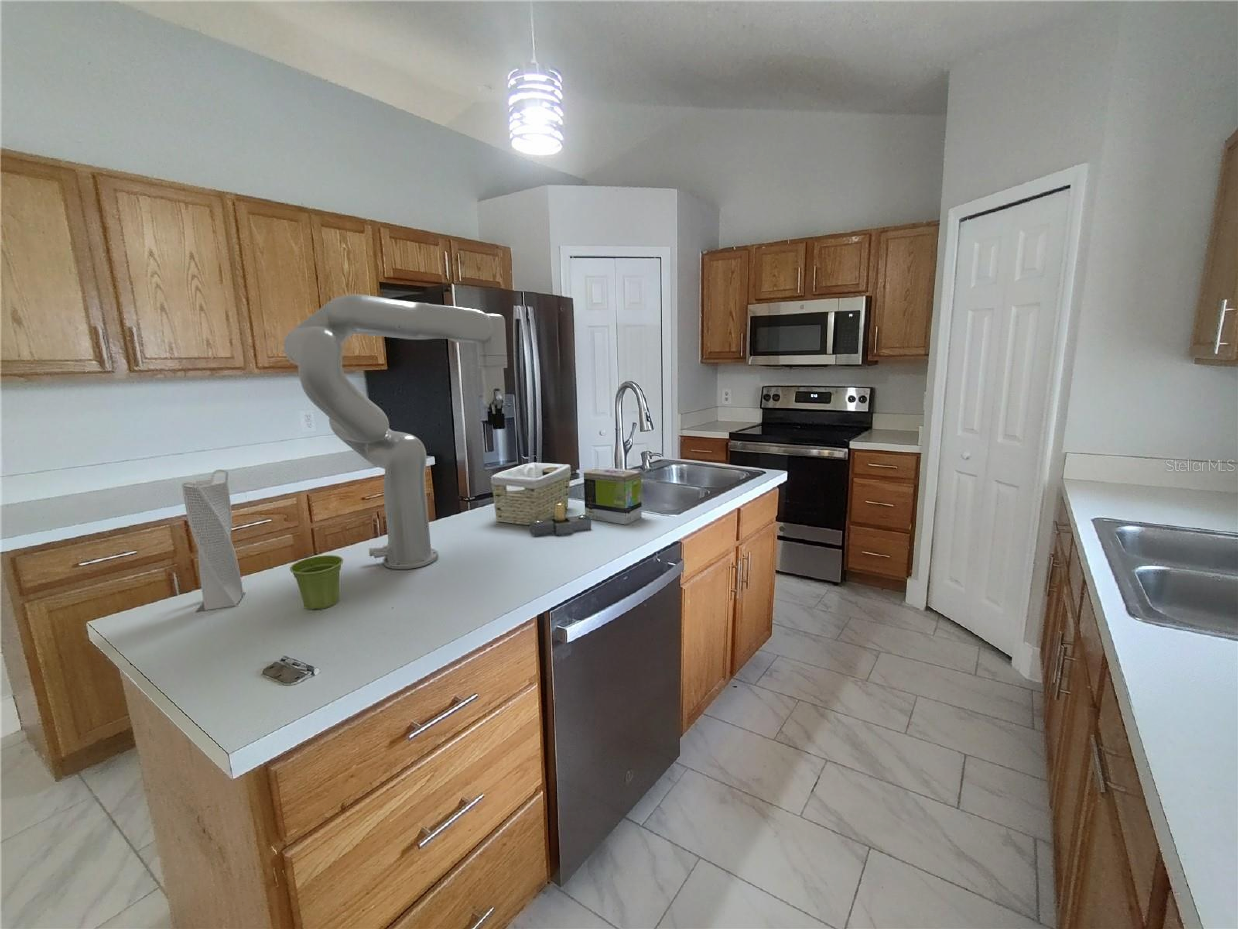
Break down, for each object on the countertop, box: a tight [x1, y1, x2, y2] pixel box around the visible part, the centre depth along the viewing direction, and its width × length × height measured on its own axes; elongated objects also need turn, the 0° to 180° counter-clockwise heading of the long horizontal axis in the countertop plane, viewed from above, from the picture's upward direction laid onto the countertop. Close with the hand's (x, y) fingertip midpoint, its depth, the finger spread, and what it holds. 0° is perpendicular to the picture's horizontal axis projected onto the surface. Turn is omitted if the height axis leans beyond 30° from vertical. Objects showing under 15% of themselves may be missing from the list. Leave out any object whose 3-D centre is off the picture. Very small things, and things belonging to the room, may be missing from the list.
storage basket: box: [490, 462, 572, 526], centre depth 172 cm, size 24×16×15 cm
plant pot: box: [289, 554, 344, 611], centre depth 112 cm, size 9×9×9 cm
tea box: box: [583, 466, 643, 525], centre depth 167 cm, size 15×10×15 cm, turn 58°
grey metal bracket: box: [529, 514, 592, 537], centre depth 157 cm, size 17×9×4 cm, turn 110°
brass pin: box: [554, 502, 567, 523], centre depth 156 cm, size 3×3×8 cm
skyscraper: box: [181, 469, 246, 613], centre depth 111 cm, size 8×8×28 cm
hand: (496, 426), depth 149 cm, fingers open, 9 cm apart
